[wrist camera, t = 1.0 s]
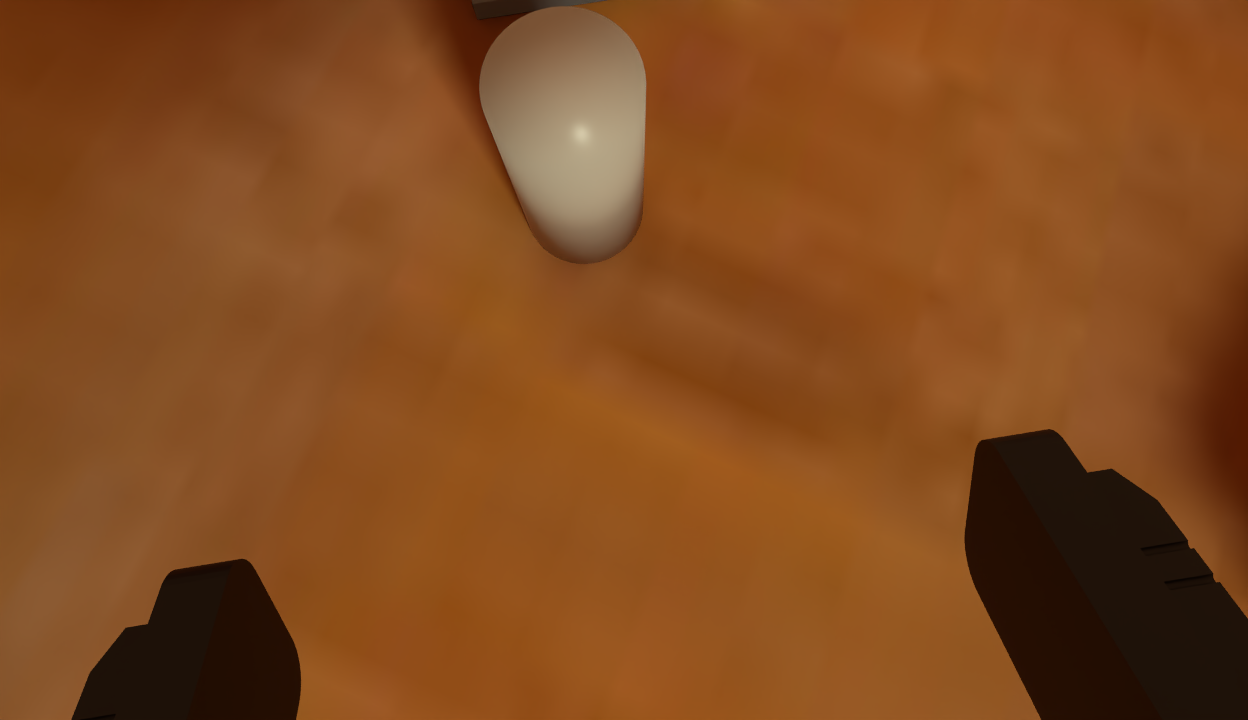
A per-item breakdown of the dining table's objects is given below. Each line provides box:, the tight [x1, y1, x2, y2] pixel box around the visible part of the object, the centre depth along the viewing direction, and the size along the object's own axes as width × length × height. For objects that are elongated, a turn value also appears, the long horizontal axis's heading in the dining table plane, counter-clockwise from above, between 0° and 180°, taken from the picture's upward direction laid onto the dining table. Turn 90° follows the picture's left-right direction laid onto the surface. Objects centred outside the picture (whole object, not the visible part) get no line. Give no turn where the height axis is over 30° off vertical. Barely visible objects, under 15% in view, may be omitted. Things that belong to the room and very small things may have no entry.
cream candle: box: [479, 6, 646, 264], centre depth 31 cm, size 4×4×11 cm
